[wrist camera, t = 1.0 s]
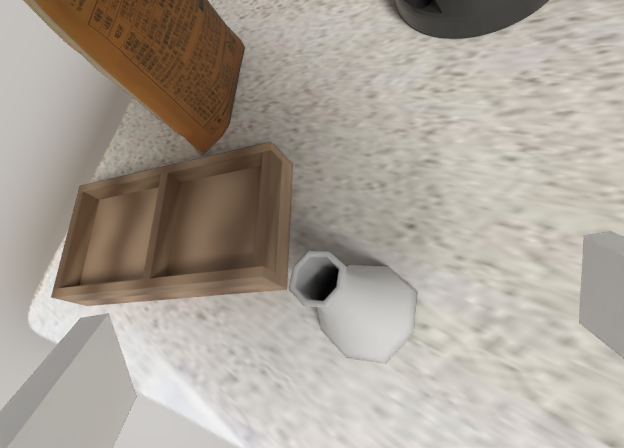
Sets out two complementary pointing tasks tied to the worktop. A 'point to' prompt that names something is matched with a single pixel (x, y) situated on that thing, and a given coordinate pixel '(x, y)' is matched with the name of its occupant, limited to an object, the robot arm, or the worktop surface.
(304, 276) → the flask
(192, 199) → the wooden tray
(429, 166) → the worktop surface
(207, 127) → the pancake mix bag
